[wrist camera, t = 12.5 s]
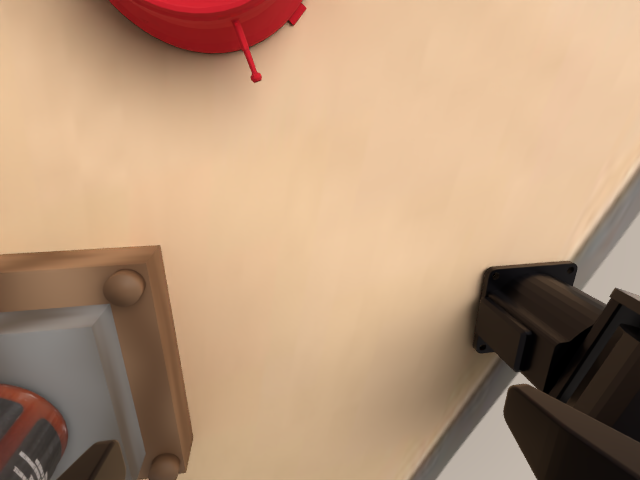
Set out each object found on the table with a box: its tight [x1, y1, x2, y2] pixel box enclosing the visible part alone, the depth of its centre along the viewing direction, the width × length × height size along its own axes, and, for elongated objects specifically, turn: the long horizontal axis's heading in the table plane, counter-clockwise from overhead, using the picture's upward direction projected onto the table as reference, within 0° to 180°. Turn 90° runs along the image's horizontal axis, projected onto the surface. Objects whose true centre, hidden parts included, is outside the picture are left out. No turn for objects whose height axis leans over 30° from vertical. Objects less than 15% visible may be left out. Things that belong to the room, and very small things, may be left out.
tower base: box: [0, 245, 193, 480], centre depth 18 cm, size 14×14×4 cm
